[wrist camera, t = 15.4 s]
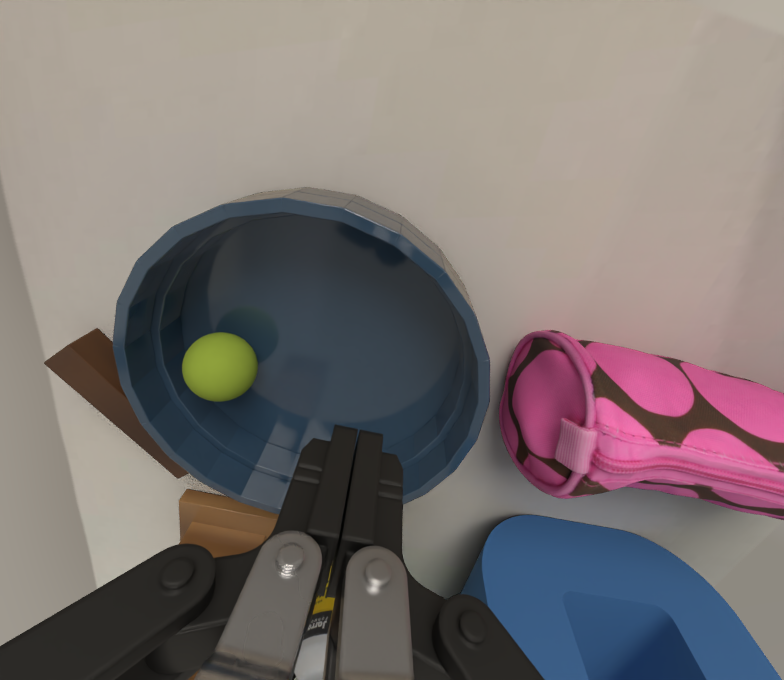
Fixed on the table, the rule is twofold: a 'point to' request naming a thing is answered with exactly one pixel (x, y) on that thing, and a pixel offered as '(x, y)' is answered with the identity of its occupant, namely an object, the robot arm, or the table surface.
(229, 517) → the stand
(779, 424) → the pencil case
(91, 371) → the stick
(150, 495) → the table surface
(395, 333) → the bowl
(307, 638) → the pill bottle
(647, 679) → the block
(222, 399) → the grape
